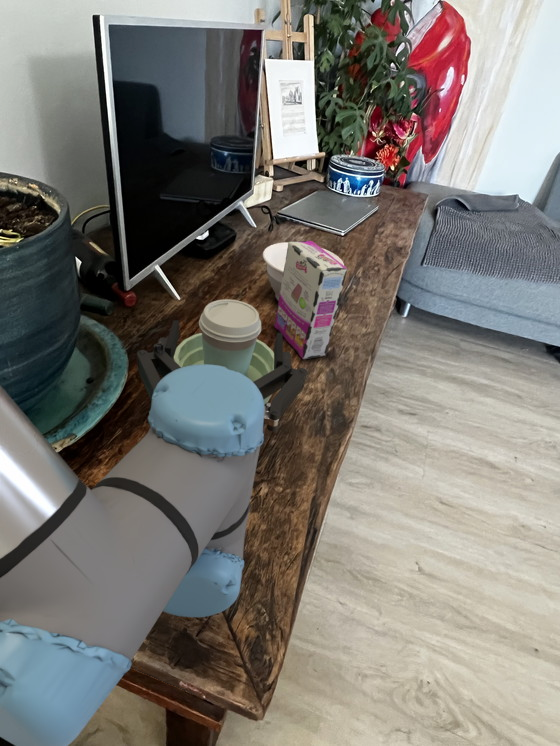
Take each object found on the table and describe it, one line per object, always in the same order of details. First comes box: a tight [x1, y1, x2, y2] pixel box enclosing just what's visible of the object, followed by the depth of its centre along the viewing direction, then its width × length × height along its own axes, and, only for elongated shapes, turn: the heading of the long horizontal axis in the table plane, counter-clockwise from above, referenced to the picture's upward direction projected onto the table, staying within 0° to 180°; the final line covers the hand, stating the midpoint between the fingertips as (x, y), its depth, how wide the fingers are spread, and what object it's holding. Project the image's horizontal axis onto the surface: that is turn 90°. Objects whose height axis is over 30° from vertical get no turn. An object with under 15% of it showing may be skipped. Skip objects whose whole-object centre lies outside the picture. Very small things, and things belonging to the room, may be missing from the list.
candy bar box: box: [274, 240, 348, 360], centre depth 82 cm, size 11×5×16 cm, turn 27°
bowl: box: [262, 241, 345, 301], centre depth 98 cm, size 16×16×8 cm
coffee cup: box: [198, 298, 262, 376], centre depth 70 cm, size 8×8×12 cm
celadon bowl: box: [173, 332, 274, 406], centre depth 73 cm, size 15×15×5 cm
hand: (227, 335), depth 66 cm, fingers open, 13 cm apart
